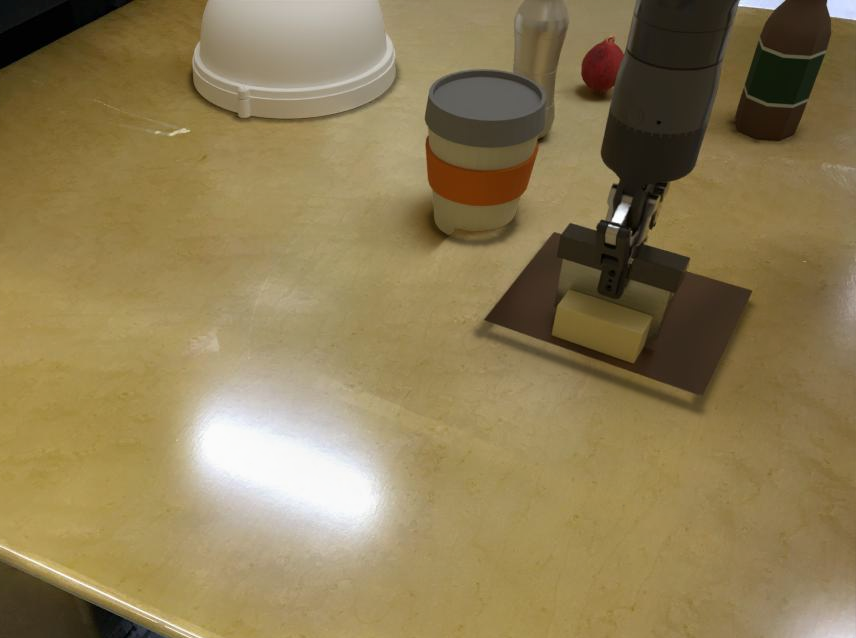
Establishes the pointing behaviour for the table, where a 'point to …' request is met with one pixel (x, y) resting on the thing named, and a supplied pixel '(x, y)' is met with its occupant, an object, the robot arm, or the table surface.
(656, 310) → the bench scraper
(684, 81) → the robot arm
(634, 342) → the butter slice
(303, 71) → the dome cover
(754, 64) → the beer bottle
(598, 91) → the pomegranate
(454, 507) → the table surface
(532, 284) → the cutting board
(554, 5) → the plastic bottle
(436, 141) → the reusable coffee cup
